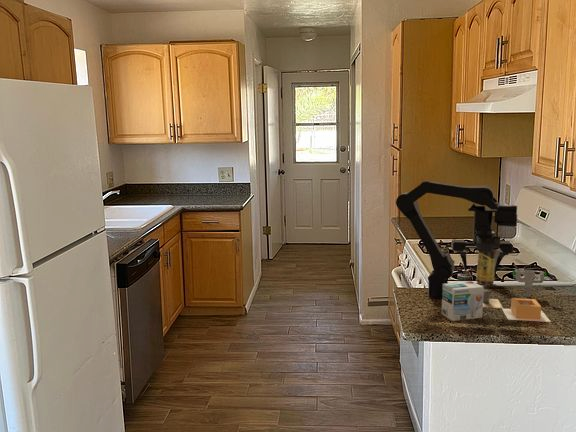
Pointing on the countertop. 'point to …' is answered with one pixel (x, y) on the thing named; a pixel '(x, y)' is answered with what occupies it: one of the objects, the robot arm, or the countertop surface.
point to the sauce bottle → (486, 267)
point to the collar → (525, 308)
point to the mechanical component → (528, 279)
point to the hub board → (512, 317)
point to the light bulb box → (462, 300)
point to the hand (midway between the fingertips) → (480, 271)
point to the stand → (490, 301)
